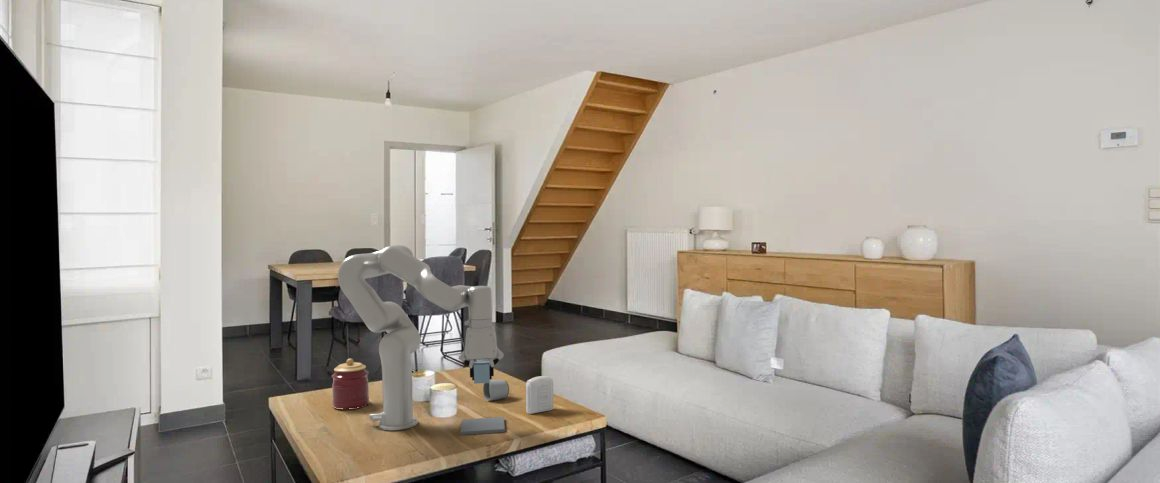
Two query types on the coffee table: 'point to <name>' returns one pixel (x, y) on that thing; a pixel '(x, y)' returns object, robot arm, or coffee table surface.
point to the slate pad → (482, 425)
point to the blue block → (481, 372)
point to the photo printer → (539, 394)
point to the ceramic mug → (495, 390)
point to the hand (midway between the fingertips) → (482, 378)
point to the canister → (350, 385)
